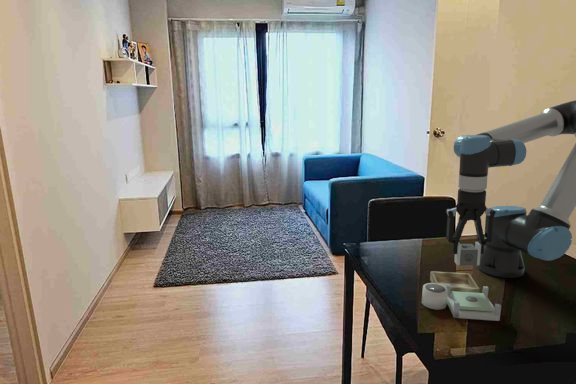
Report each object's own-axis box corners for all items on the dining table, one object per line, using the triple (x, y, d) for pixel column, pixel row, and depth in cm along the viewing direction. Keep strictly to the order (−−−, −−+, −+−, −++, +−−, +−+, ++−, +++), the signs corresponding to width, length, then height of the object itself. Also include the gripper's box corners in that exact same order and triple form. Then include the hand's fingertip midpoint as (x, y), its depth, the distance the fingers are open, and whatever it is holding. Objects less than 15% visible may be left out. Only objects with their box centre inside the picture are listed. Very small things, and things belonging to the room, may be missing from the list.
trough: (468, 282, 137) (469, 273, 136) (478, 298, 126) (479, 289, 125) (429, 279, 138) (430, 271, 138) (436, 295, 128) (437, 286, 127)
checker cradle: (485, 300, 125) (487, 286, 124) (499, 320, 113) (501, 306, 112) (444, 297, 126) (445, 283, 125) (453, 317, 115) (455, 303, 114)
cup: (443, 298, 126) (444, 283, 124) (448, 310, 119) (450, 294, 118) (419, 297, 127) (421, 282, 125) (423, 308, 120) (425, 292, 119)
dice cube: (454, 258, 128) (455, 243, 127) (470, 258, 128) (471, 243, 127) (459, 265, 124) (460, 250, 122) (476, 265, 123) (477, 249, 122)
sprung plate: (482, 296, 123) (483, 292, 123) (492, 311, 114) (493, 307, 114) (451, 294, 124) (451, 290, 124) (458, 309, 116) (459, 305, 115)
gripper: (499, 185, 122) (492, 258, 127) (436, 186, 123) (433, 258, 129) (510, 191, 114) (503, 268, 120) (443, 192, 116) (439, 268, 122)
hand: (466, 263), depth 124 cm, fingers closed on dice cube, 5 cm apart
